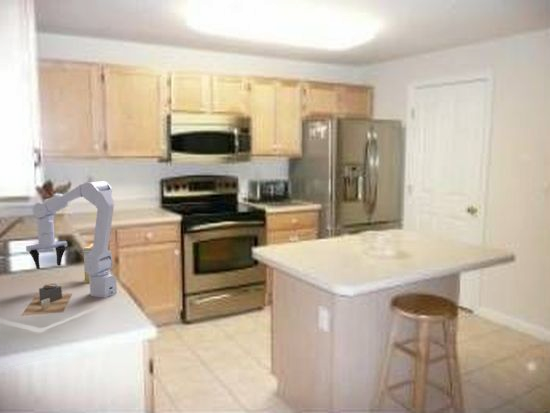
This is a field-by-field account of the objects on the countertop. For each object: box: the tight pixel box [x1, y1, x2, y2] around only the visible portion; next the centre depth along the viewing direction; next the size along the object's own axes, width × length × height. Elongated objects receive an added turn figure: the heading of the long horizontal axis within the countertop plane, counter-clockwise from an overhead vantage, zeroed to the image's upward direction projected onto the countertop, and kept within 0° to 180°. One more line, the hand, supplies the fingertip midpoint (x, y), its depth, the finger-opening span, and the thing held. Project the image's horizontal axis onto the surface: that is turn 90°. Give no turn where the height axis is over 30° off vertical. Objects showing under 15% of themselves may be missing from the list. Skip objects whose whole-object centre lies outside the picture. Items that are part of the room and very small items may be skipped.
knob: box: [38, 283, 63, 302], centre depth 172 cm, size 5×5×5 cm
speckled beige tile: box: [41, 298, 50, 309], centre depth 163 cm, size 1×3×3 cm, turn 155°
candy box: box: [83, 243, 93, 285], centre depth 199 cm, size 9×4×15 cm, turn 179°
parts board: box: [20, 292, 73, 316], centre depth 168 cm, size 21×13×1 cm, turn 15°
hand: (48, 266), depth 185 cm, fingers open, 7 cm apart
